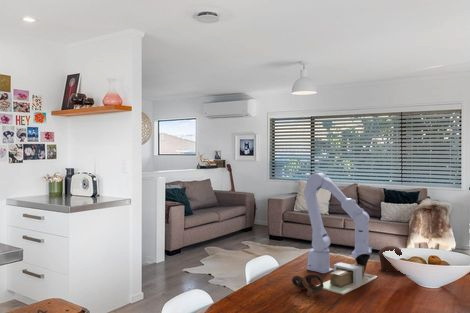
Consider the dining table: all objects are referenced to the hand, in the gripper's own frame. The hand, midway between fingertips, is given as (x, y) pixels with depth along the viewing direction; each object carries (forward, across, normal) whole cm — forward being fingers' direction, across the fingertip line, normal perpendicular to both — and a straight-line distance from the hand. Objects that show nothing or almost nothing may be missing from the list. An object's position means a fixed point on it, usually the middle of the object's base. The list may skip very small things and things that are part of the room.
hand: (361, 271), depth 169 cm
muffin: (+2, +19, -5) cm, 20 cm away
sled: (+1, -12, 0) cm, 12 cm away
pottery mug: (+2, -33, +5) cm, 34 cm away
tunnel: (+2, -12, 0) cm, 12 cm away
